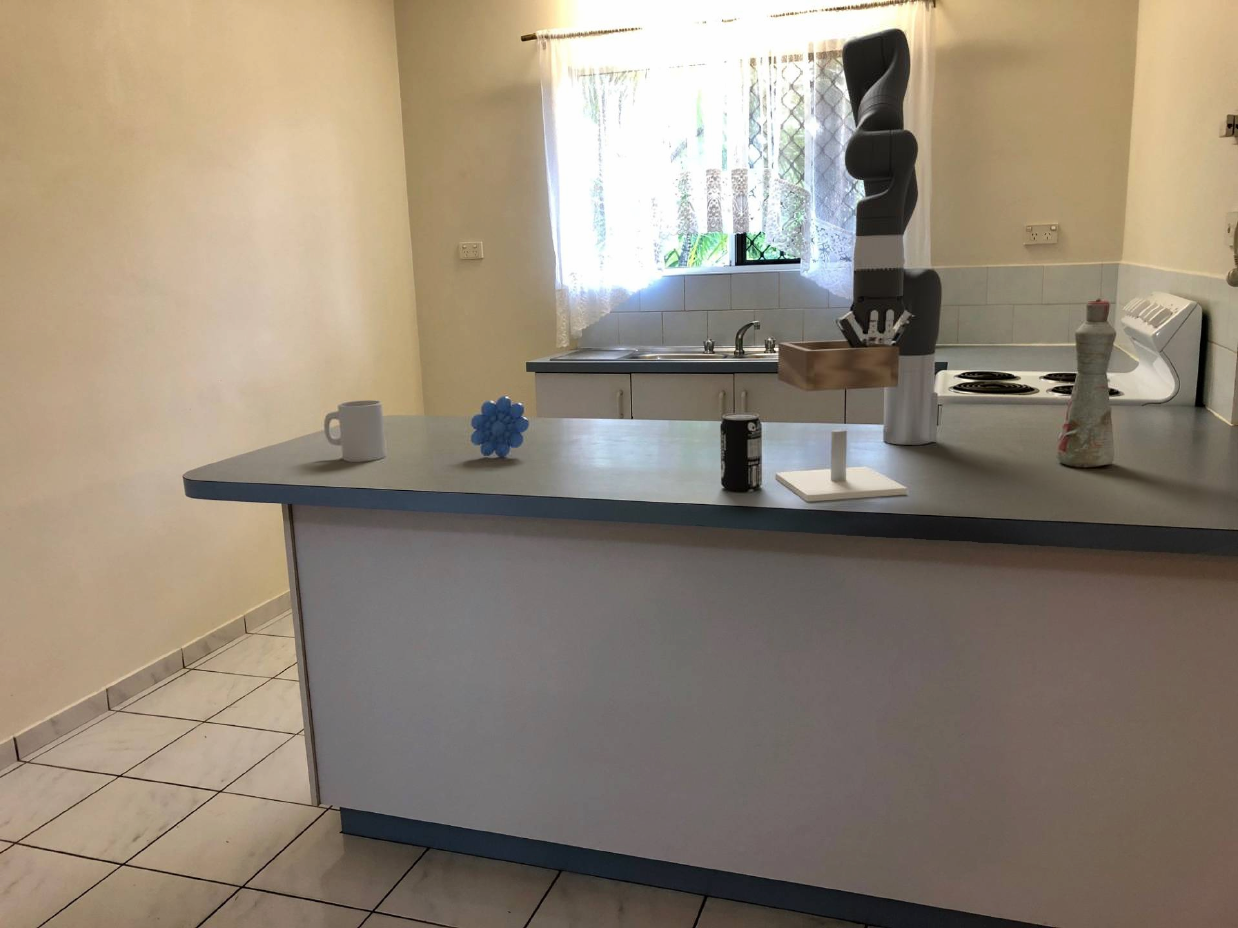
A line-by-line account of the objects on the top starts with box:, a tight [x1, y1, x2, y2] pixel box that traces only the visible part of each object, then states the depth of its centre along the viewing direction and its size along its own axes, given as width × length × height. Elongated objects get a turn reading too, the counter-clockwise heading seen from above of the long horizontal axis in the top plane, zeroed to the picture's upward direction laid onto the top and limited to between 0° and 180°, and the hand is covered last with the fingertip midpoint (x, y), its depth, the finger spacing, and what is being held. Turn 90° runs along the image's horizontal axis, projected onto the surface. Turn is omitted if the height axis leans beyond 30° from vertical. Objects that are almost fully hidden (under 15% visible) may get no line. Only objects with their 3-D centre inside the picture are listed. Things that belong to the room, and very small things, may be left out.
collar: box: [777, 338, 899, 392], centre depth 150 cm, size 14×14×6 cm
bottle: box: [1056, 298, 1117, 468], centre depth 159 cm, size 9×9×28 cm
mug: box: [323, 400, 387, 463], centre depth 190 cm, size 12×8×11 cm
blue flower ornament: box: [470, 395, 530, 458], centre depth 186 cm, size 12×7×12 cm, turn 86°
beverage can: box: [719, 412, 763, 493], centre depth 153 cm, size 7×7×12 cm
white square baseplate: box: [774, 429, 908, 502], centre depth 152 cm, size 16×16×9 cm
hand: (875, 377), depth 151 cm, fingers closed on collar, 1 cm apart
